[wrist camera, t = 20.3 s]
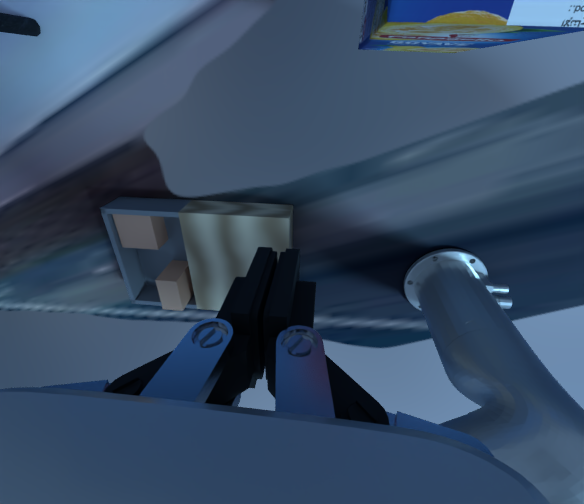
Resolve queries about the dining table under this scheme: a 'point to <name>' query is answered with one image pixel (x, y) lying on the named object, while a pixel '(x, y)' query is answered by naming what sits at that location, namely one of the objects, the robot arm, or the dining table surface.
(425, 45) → the beverage box
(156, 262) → the tray
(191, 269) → the pale green square panel
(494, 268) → the dining table surface
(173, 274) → the tile
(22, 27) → the solar garden light
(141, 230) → the tile
